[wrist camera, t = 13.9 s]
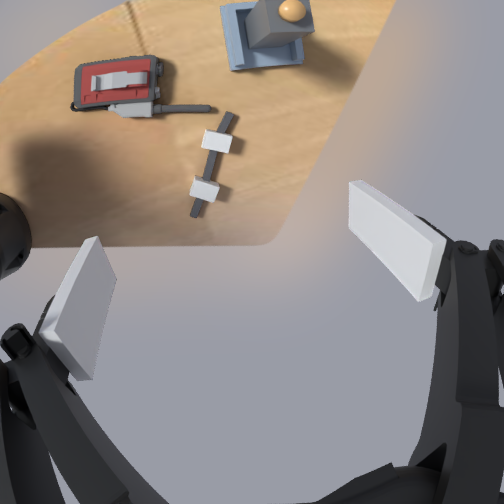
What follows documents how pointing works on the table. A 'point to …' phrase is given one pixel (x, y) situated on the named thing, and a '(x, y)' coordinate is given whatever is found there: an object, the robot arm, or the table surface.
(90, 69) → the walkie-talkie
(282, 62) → the tray
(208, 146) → the cable run
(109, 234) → the table surface
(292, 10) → the grey post with ball
